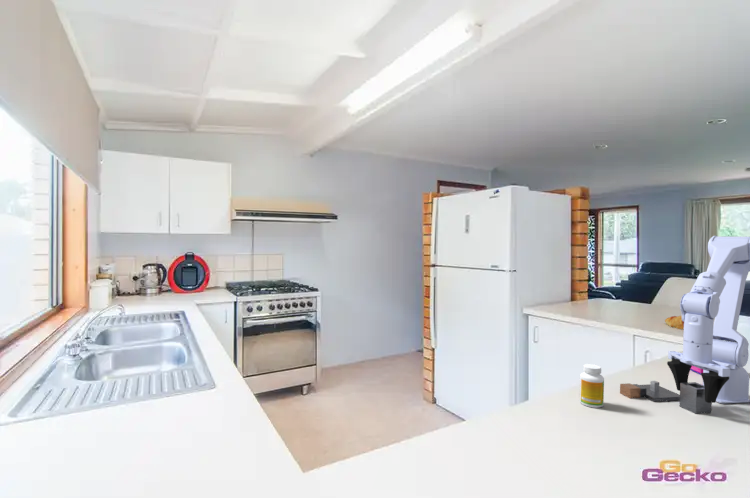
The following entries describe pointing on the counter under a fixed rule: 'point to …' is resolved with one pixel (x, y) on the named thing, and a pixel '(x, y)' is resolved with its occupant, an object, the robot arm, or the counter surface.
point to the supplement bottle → (591, 386)
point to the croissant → (675, 322)
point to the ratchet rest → (648, 392)
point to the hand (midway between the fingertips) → (695, 396)
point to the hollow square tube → (694, 398)
